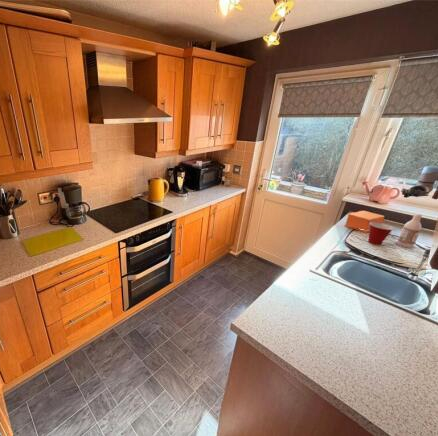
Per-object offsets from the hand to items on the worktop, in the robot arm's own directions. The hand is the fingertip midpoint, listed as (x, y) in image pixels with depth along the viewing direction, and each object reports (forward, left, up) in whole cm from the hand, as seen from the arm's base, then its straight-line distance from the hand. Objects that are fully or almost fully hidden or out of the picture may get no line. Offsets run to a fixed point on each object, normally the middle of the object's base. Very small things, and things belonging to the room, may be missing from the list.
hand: (405, 195), depth 147 cm
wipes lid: (-2, +15, -17) cm, 23 cm away
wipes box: (-2, +15, -26) cm, 30 cm away
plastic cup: (-28, +8, -26) cm, 39 cm away
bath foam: (-21, -5, -26) cm, 34 cm away
